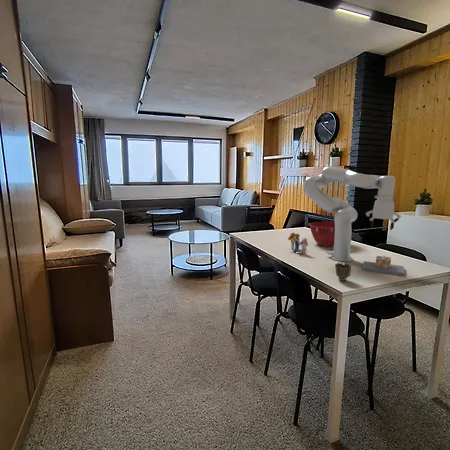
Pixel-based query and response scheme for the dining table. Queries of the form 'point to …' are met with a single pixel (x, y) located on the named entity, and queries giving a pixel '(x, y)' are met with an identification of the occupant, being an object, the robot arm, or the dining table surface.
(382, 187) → the robot arm
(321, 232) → the mixing bowl
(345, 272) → the cup
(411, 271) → the dining table surface
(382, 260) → the oak bead
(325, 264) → the dining table surface
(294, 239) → the doll family
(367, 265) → the needle board
